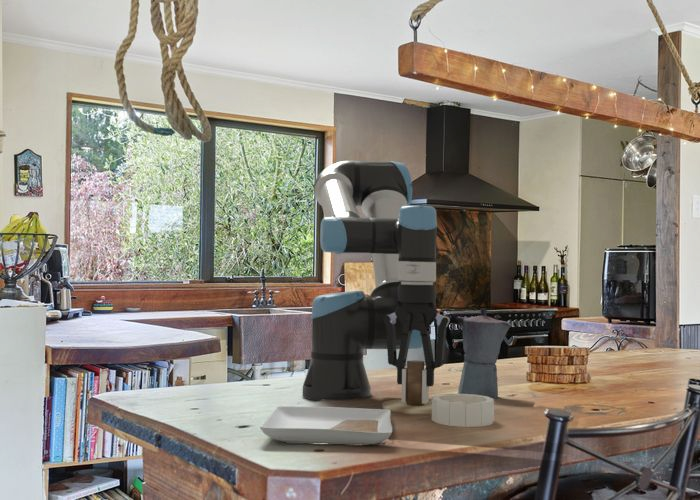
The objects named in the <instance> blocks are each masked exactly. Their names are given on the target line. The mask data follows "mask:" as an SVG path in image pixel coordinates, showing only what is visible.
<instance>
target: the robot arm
mask: <svg viewBox="0 0 700 500" xmlns="http://www.w3.org/2000/svg"><path fill="white" fill-rule="evenodd" d="M412 184H413V181H412V177H411V173H410V170H409V168H408V167H407V165H406V164H405V163H403V162H398V161H392V160H387V161H376V160H375V161H373V160H350V159H346V160H341V161H337V162H334V163H332V164H330V165H328V166H327V167H326V168H324V169H323V170H322V171H320V173H319V174H318V175H317V177H316V179H315V181H314V184H313V193H314V198H315V199H316V201H317V203H318V204H319V206H321V208H322V211H323V214H324V217H322V219H321V221H320V228H319V229H320V231H319V242H320V249H321V250H322V251H323V252H324V253H333V254H337V255H340V254H371V255H372V265H373V274H374V285H375V287H374V288H373V289H372V290H371V293H370V296H366V294H365V292H364V291H363V290H353V291H352V290H351V291H343V292H342V291H341V292H333V293H328V294H327V293H326V294H320V295H318V296H317V295H316V297H315V298H314V299H313V301H312V303H311V304H312V305H311V315H310V320H311V339H310V341H311V342H310V343H311V344H310V345H311V346H310V363H309V367H308V370H307V372H306V376H305V378H304V382H303V384H302V397H303V398H304V399H308V400H312V401H317V402H318V401H319V402H321V401H322V400H323V401H324V400H327V401H351V400H361V399H366V398H370V397H371V396H372V395H371V391H372V389H371V385H370V381H369V377H368V374H367V370H366V367H365V364H364V350H387V363H388V365H391V366H393V367H395V368H396V382H397V385H401V399H402V402H407V358H408V354H409V350H417V349H418V350H419V349H422V350H423V356H424V365H425V367H424V370H422V404H426V403H427V402H429V400H430V399H429V396H430V394H429V392H430V390H429V389H430V388H429V387H432V386H434V384H435V369H438V368H440V367H442V366H443V365H444V363H445V352H446V351H445V349H446V341H447V339H446V329H447V326H448V324H449V322H450V316H444V315H442V314H440V313H439V311H438V309H437V306H436V299H437V298H436V296H437V294H436V292H437V291H436V290H437V287H436V286H435V285H434V283H436V281H437V232H438V231H437V228H438V221H437V209H436V208H435V207H433V206H431V205H410V204H411V202H412V199H413V186H412ZM357 207H361V212H362V214H363V215H364V217H361V216H360V213H359V211H358V208H357ZM435 320H436V325H437V326H438V328H437V334H436V335H437V336H436V349H435V359H434V353H433V347H432V346H433V345H432V341H431V330H430V329H431V328H430V327H431V325H433V323H434V321H435ZM397 350H399V351H398V353H397ZM397 354H398V356H397ZM434 360H435V361H434Z"/></svg>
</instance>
